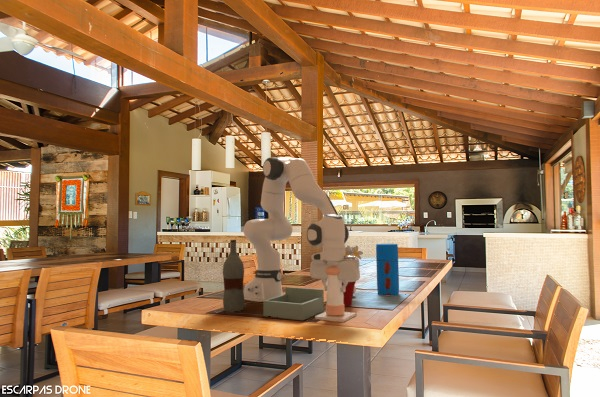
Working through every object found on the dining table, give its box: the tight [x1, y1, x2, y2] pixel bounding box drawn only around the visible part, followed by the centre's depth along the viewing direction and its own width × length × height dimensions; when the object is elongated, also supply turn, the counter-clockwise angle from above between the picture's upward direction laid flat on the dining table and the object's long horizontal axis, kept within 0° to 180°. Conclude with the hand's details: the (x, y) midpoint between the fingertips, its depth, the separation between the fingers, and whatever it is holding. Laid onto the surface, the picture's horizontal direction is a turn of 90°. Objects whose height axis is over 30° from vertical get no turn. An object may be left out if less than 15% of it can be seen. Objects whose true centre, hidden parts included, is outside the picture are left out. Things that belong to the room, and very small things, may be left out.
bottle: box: [222, 239, 246, 313], centre depth 184 cm, size 9×9×30 cm
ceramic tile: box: [314, 311, 357, 323], centre depth 167 cm, size 12×12×1 cm
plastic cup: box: [342, 280, 357, 308], centre depth 190 cm, size 11×11×12 cm
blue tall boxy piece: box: [375, 243, 400, 297], centre depth 218 cm, size 11×11×25 cm
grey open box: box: [262, 286, 325, 321], centre depth 175 cm, size 18×18×9 cm
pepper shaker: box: [325, 267, 346, 315], centre depth 167 cm, size 7×7×19 cm
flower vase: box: [345, 245, 364, 295], centre depth 213 cm, size 13×18×25 cm
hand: (334, 291), depth 167 cm, fingers closed on pepper shaker, 5 cm apart
